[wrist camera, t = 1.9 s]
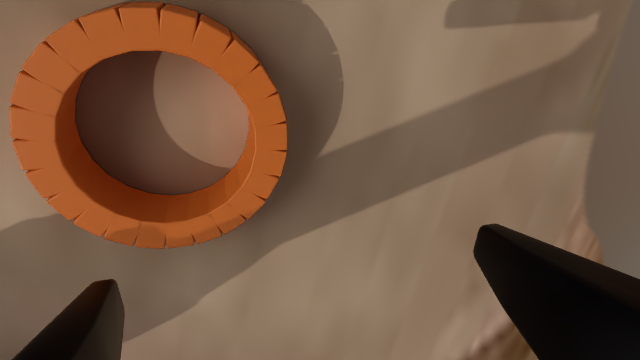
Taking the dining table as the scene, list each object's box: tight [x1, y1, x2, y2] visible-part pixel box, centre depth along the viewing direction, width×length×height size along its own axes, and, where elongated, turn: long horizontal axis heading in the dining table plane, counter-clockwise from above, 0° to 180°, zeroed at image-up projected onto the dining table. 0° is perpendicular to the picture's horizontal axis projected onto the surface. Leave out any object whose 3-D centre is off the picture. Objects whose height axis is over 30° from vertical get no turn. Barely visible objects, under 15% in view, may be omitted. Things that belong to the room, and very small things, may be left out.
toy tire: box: [10, 2, 288, 249], centre depth 16 cm, size 10×10×2 cm
